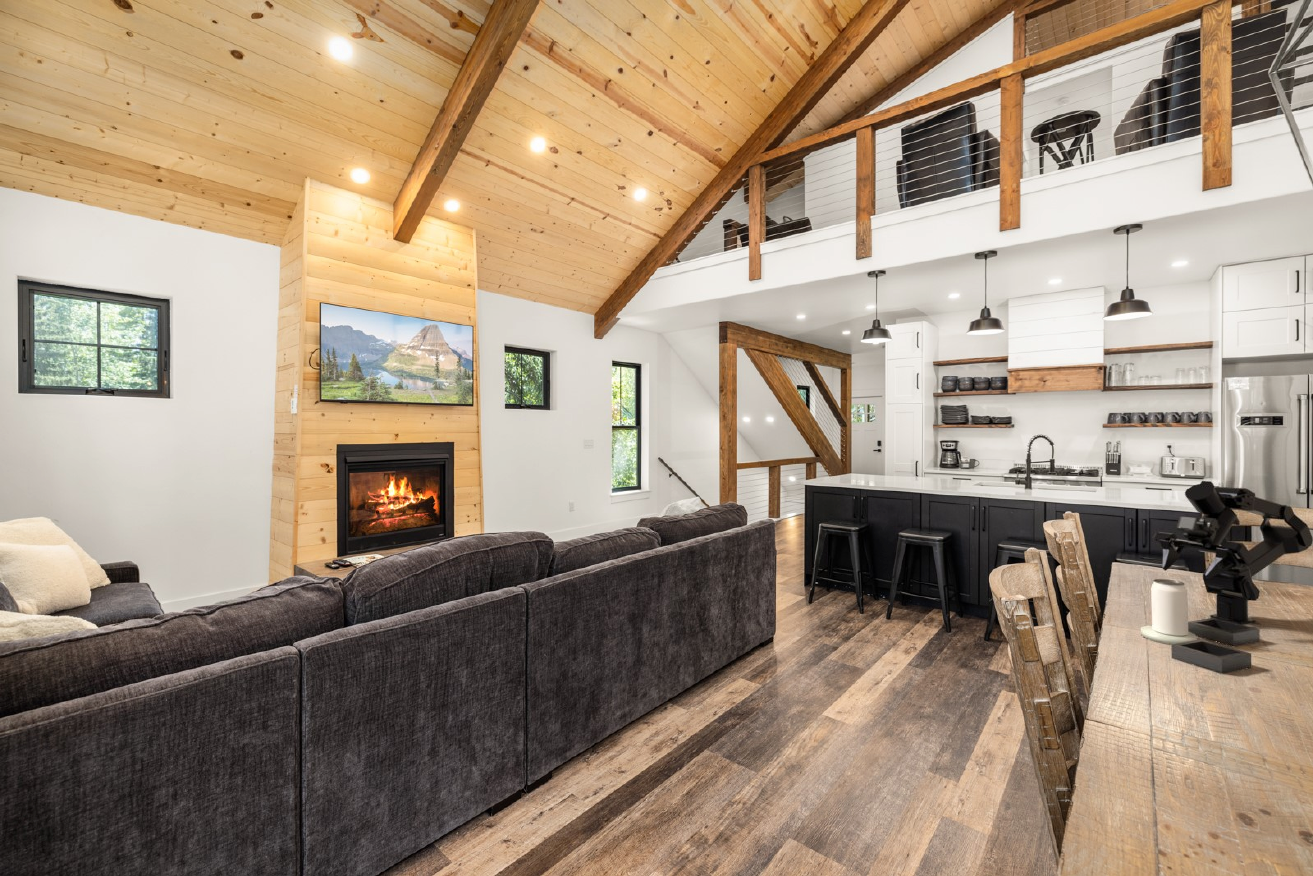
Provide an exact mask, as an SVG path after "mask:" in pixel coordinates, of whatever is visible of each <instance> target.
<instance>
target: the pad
mask: <svg viewBox="0 0 1313 876" xmlns="http://www.w3.org/2000/svg"><path fill="white" fill-rule="evenodd" d="M1140 636H1141V637H1142V636H1143V638H1144V637H1145V639H1146V640H1149V641H1152V642H1155V641H1156V642H1155V643H1159V642H1160V643H1159V644H1164V645H1168V646H1171V644H1176V643H1182V642H1187V641H1193V640H1198V637H1197V636H1196V635H1195V634H1193V633H1191V632H1188V634H1187V635H1186V636H1169V635H1164V634H1161V633H1158V632H1156V631H1154V629H1153V628H1152V624H1150V625H1144V626H1141V627H1140Z"/></svg>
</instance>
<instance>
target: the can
mask: <svg viewBox="0 0 1313 876" xmlns="http://www.w3.org/2000/svg"><path fill="white" fill-rule="evenodd" d="M1150 593H1151V594H1150V595H1151V596H1150V597H1151V599H1150V600H1151V625H1152V628H1153V629H1154V631H1156V632H1158V633H1161V634H1164V635H1169V636H1186V635H1187V634H1188V622H1189V603H1188V599H1189V598H1188V590H1187V588H1186V586H1185V583H1184V582H1183V581H1179V580H1173V579H1167V578H1166V579H1164V578H1155V579H1153V583H1152V585H1151V590H1150Z"/></svg>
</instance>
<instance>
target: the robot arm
mask: <svg viewBox="0 0 1313 876" xmlns="http://www.w3.org/2000/svg"><path fill="white" fill-rule="evenodd" d="M1184 495H1185V498H1186V499H1187V500H1188V501H1189V503H1190V504H1191V505H1192V506H1193V508H1194V509H1195V510H1196V512H1197V513H1199V514H1201V515H1202V517H1200V518H1198V517H1189V516H1179V517H1178V520H1177V524H1176V528H1175V529H1177V530H1179V531H1181V532H1183V534H1182V535H1183V537H1184V538H1186V539H1187V540H1186V539H1180V538H1178V537H1177V535H1176V534H1175V533H1171V532H1163V531H1159V532H1155V534H1154V535H1153V537H1152V540H1153V541H1154V543H1155V544H1156V545H1157V546H1158V548H1159V549H1160V550H1161V551H1162V570H1164V571H1167V570H1169V569H1170V568H1171V567H1172V565H1174V563H1175V562H1176V561H1177V560H1178V559H1179V558H1180V557H1181V555H1180V554H1181V553H1182V552H1183V551H1184V549H1186V550H1193V551H1198V552H1202V553H1203V552H1204V553H1207V554H1215V555H1214V558H1213V559H1212V561H1211V563H1209V564H1208V567H1207V568H1206V569H1205V570H1204V571H1203V572H1202V580H1203V583H1204V588H1205V590H1206V593H1208V594H1214V595H1216V602H1215V603H1216V608H1215V609H1216V613H1214V614H1209V618H1216V619H1220V620H1224V621H1228V622H1233V623H1237V624H1241V625H1244V624H1247V623H1248V624H1249V623H1255V622H1256V621H1257V620H1256V619H1255V618H1251V617H1249V603H1248V602H1249V601H1254V602H1255V601H1257V600H1258V599H1259V597H1260V593H1261V592H1260V589H1259V588H1258V587H1257V585H1256V584H1255V583H1254V582H1253V577H1254V576H1255V575H1257V574H1259V573H1260V572H1261V571H1262V570H1264V569H1265V568H1266V567H1268V566H1269V565H1271V564H1272V563H1273V562H1275V561H1277V560H1278V559H1280V558H1281V557H1283V556H1284V555H1288V554H1289V555H1291V554H1299V553H1301V552H1302V553H1303V552H1304V551H1307V550H1308V549H1309V548H1310V547H1311V546H1312V544H1313V536H1312V533H1311V531H1310V528H1309V526H1308V524H1307V523H1306V522H1305V521H1303V520H1302V519H1301V518H1300V517H1298V516H1297V515H1296V514H1295V513H1294V510H1293V507H1291V506H1290V505H1287V504H1281V503H1278V502H1273V501H1270V500H1267V499H1264V498H1260V497H1257V496H1256V493H1255V492H1253V490H1250V489H1249V488H1243V487H1230V486H1227V487H1225V486H1215V485H1214V483H1213V482H1212V480H1211V481H1210V480H1201V482H1200V483H1199V484H1195V485H1192V486H1190V487H1189V488H1187V489H1185V492H1184ZM1234 510H1235V511H1242V512H1247V513H1251V514H1255V515H1258V516H1261V517H1262V519H1263V520H1262V522H1261V524H1260V526H1259V530H1260V532H1261V535H1262V541H1260V542H1259V543H1257V544H1256V545H1255V546H1253V547H1252V548H1250V549H1248V548H1247V546H1246V545H1245V544H1244V543H1243V542H1239V541H1232V540H1229V537H1228V535H1227V534H1228V533H1229V531H1230V529H1231V528H1232V526H1233V525H1234V526H1239V525H1240V524H1241V523H1240V520H1239V518H1238V514H1236V512H1235V511H1234ZM1271 519H1272V520H1279V521H1281V520H1282V521H1284V522H1285V524H1287V525H1288V526H1282V525H1272V524H1271V522H1270V521H1271ZM1240 526H1241V525H1240Z"/></svg>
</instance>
